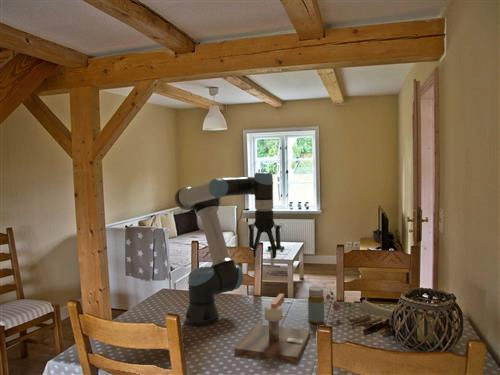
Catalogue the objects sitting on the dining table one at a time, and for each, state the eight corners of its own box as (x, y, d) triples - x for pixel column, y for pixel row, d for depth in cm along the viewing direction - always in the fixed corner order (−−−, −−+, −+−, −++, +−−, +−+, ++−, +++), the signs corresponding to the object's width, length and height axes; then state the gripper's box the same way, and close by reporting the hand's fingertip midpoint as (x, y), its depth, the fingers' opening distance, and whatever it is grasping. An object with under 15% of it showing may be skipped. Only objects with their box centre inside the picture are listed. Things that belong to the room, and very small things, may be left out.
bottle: (324, 325, 177) (323, 291, 176) (307, 324, 178) (307, 290, 177) (324, 319, 183) (324, 286, 182) (308, 318, 185) (308, 285, 184)
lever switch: (280, 322, 154) (279, 308, 154) (262, 320, 156) (262, 306, 156) (290, 307, 170) (290, 294, 169) (274, 306, 172) (273, 293, 172)
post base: (234, 353, 152) (234, 327, 151) (254, 328, 174) (254, 305, 174) (297, 362, 144) (297, 335, 143) (310, 335, 166) (309, 311, 166)
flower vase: (400, 343, 174) (320, 319, 182) (399, 324, 185) (324, 302, 193) (408, 322, 170) (325, 298, 178) (406, 304, 180) (329, 282, 188)
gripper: (239, 210, 166) (240, 265, 167) (283, 211, 160) (284, 269, 161) (245, 208, 173) (246, 261, 174) (288, 209, 167) (289, 264, 168)
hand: (265, 265), depth 168 cm, fingers open, 6 cm apart
